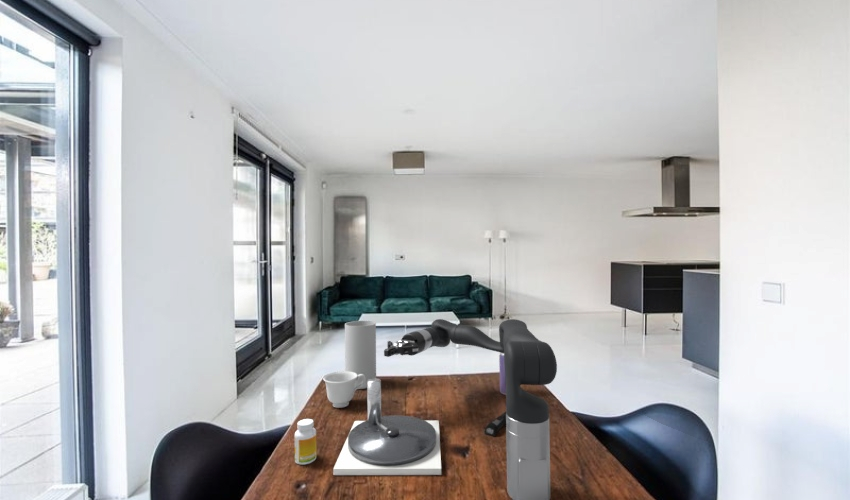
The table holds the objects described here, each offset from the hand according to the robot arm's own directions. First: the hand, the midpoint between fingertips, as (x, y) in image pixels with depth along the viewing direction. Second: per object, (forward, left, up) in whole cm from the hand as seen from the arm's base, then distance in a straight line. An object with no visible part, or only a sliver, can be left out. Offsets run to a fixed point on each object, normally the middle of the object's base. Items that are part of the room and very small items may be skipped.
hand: (385, 353), depth 116 cm
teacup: (+16, +17, -22) cm, 33 cm away
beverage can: (+26, -43, -22) cm, 55 cm away
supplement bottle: (-20, +19, -22) cm, 35 cm away
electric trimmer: (-1, -35, -23) cm, 42 cm away
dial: (-14, -3, -21) cm, 25 cm away
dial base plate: (-14, -3, -22) cm, 26 cm away
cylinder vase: (+36, +15, -22) cm, 45 cm away
